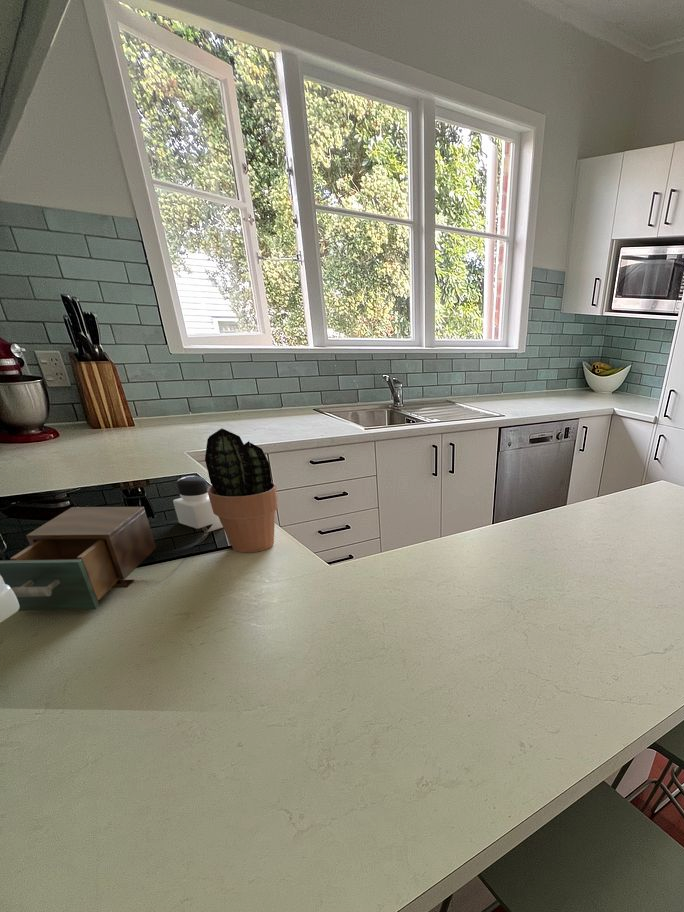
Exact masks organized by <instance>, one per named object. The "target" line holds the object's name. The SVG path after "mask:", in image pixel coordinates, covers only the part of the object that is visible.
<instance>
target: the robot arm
mask: <svg viewBox="0 0 684 912" xmlns="http://www.w3.org/2000/svg"><path fill="white" fill-rule="evenodd" d="M18 610H19V602H18V600H17V597H16V595H15V593H14V592H13V590H12V589H11V587H10V586H9V585H7V584H5V582H4V580H3V578H2V576H1V574H0V624H1V623H2V622H4V621H5V620H7V619H8V618H10V617H11V616H13V615H14V614H16V613H17V612H19V611H18Z"/></svg>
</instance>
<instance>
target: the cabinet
mask: <svg viewBox="0 0 684 912" xmlns="http://www.w3.org/2000/svg"><path fill="white" fill-rule="evenodd" d="M25 536H26V538H27V541H28V542H29V546H30V545H32V544H33V543H35V542H36V541H38V540H39V539H106V542H107V544H108V547H109V550H110V553H111V556H112V559H113V562H114V564H115V567H116V570H117V573H118V576H119V578H118V580H119V581H118V582H117V583H116V584H115V585H114V586H113V587H112V588H111V589H125V588H128V587H129V586H130V585H131V584H132V583H133V582H134V581H135V579H127V578H128V576H130V575H131V573H133V572H134V571H135V570H136V568H138V567H139V566H140V565H141V564H142V562H144V561H145V560H146V559H147V558H148V557H149V556H151V554H152V553H153V552H154V551H155V550H156V549H157V546H156V543H155V540H154V536H153V533H152V529H151V526H150V523H149V520H148V516H147V512H146V509H145V507H144V506H72V507H69V508H68V509H66V510H64V511H63V512H62V513H60V514H59V515H56V516H55V517H54V518H51V519H50V520H48V521H47V522H45V523H44V524H42V525H41V526H39V527H37V528H36V529H34V530H33V531H31V532H30V533H28V534H26V535H25Z"/></svg>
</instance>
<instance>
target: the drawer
mask: <svg viewBox="0 0 684 912" xmlns="http://www.w3.org/2000/svg"><path fill="white" fill-rule="evenodd" d="M0 575H1V576H2V578H3V580H4V582H5V584H7V585H9V586H10V587H11V589H12V590H13V592H14V593H15V595H16V597H17V600H18V602H19V610H18V611H17V612H36V611H39V612H40V611H76V610H77V611H78V610H79V611H80V610H81V611H82V610H97V609H98V608H99V607H100V603H99V601H100V600H101V599H102V598H103V597H104V596H105V595H106V594H107V593H108V592H109V591H110V590H111V589H113V588H112V587H113V586H114V585H115V584H116V583H117V582H118V581H119V580H120V579H119V576H118V573H117V570H116V567H115V564H114V562H113V559H112V556H111V553H110V550H109V547H108V544H107V542H106V539H39V540H38V541H36V542H35V543H33V544H32V545H30V544H29V545H28V546H27V547H26V548H25V547H24V549H23V550H21V551H19V552H18V553H16V554H15V555H13V556H12V557H10V560H9V559H8V560H0Z"/></svg>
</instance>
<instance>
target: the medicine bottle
mask: <svg viewBox="0 0 684 912" xmlns="http://www.w3.org/2000/svg"><path fill="white" fill-rule="evenodd" d="M176 485H177V488H178V492H179V496H180V497H179V498H176V499H173V500H172V503H173V507H174V510H175V513H176V518H177V521H178V523H179V524H181V525H184V526H188V527H191V528H194V529H196V530H197V529H198V530H199V529H201V528H205V527H208V526H210V527H209V528H208V530H207V531H205V534H208V533H211V532H214V531H216V530H220V529H224V528H223V526H222V524H221V522H220V519H219V517H218V516H217V515H215V514H214V513H213V509H212V506H211V502H210V499H209V495H208V492H207V489H208V488H209V486H208V484H207V480H206V478H205V477H202V476H200V475H187V476H183V477H181V478H179V479H177V481H176Z"/></svg>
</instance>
